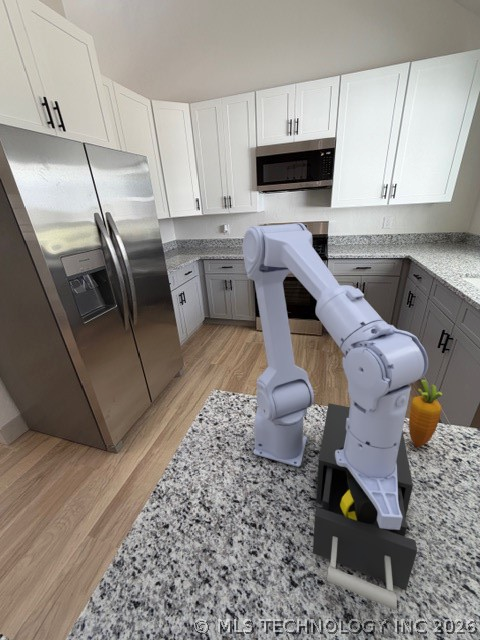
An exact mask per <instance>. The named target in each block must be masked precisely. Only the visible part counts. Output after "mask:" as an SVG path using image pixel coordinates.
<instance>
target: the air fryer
mask: <svg viewBox="0 0 480 640" xmlns="http://www.w3.org/2000/svg"><path fill="white" fill-rule="evenodd" d="M349 410H350V406H345V405H341V404H340V405H339V404H335V403H330V402H328V403H327V410H326V413H325V421H324V426H323V433H322V438H321V444H320V450H319V456H318V465H317V466H318V467H317V468H318V469H317V479H316V493H315V495H316V496H315V497H316V498H315V504H317V505H319V506H322V503H323V495H324V487H325V479H326V472H327V466H329V467H333V468H336V469H340V470H343V471H346V469H345V467H341V466H339V465H338V464H337V462H336V458H335V451H336V450H339V449H340V448H342V447H344V444H345V439H346V433H347V430H346V420H347V418H349ZM396 464H397V483H398V486H401V491H402V498H403V505H404V512H405V518H406V517H407V513H408V509H409V505H410V502H411V501H410V500H411V497H412V492H413V489H414V482H413V478H412V473H411V467H410V462H409V457H408V452H407V445H406V441H405V436H404V431H403V430H402V435H401V440H400V445H399V450H398V455H397V460H396Z"/></svg>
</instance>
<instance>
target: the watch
mask: <svg viewBox="0 0 480 640" xmlns="http://www.w3.org/2000/svg"><path fill="white" fill-rule="evenodd" d="M353 502H354V500H353V498H352V496H351V493H350V490H348V491H347V492H346V493H345V495H344V496H343V498H342V500H341V503H340V507H341V510H342V512H343V514H344V515H345V517H348V518H351V519H354V520H357V518H356V514H355V511H353V512H348V510H349V507H350V506H351V505H352V504H353Z"/></svg>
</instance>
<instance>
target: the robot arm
mask: <svg viewBox="0 0 480 640" xmlns="http://www.w3.org/2000/svg"><path fill="white" fill-rule="evenodd" d="M241 245H242V246H241V248H242V256H243V261H244V267H245V272H246V276H247V279H249V280H252V281H254V287H255V288H254V289H255V293H256V299H257V306H258V311H259V312H258V313H259V319H260V325H261V331H262V336H263V337H262V338H263V344H264V350H265V355H266V362H267V367H266V368H265V369H264V370H263V372H262V373H261V374H260V375H259V376H258V378H257V379H256V404H257V407H258V408H257V410H256V412H255V416H254V422H253V434H254V435H253V436H254V449H253V454H254V455H255V456H259V457H263V458H266V459H269V460H273V461H276V462H279V463H282V464H286V465H288V466H289V465H290V466H293V467H296V468H300V467H301V466H302V462H303V457H304V454H305V450H306V449H305V448H306V445H307V440H308V437H307V436H306V435H304V416H305V415H306V414H308V408H310V407H313V405H314V402H315V393H314V392H315V391H314V389H313V386H312V385H311V382H310V379H309V374H308V371H306V370H305V369H303V368H302V367H300V366H298V365H296V361H295V355H294V348H293V343H292V337H291V336H292V335H291V328H290V324H289V323H290V322H289V317H288V310H287V302H286V297H285V290H284V280H285V279H286V278H287V276H288V275H289V274H292V275H294V277H295V278H296V279H297V280H298V281H299V282H300V284H301V285H302V286H303V287H304V288H305V289H306V290H307V291H308V293H309V294H310V295H311V296H312V297H313V299H315V300H316V305H315V312H314V313H315V316H316V317H317V318H318V319H319V321H320V322H321V324H322V325H323V327H324V328H325V330H326V331H327V332H328V334H329V336H331V338H332V340H333V341H334V342H335V344H336V345H337V346H338V348H339V349H340V351H341V352H342V353H343V355H344V356H342V358H341V359H342V360H341V361H342V368H343V372H344V375H345V377H346V379H347V393H348V396H349V399H350V403H349V407H350V410H349V418H347V420H346V430H347V433H346V439H345V444H344V447H342V448H340V449H339V450H336V451H335V458H336V462H337V464H338V465H339V466H341V467H345V469H346V473H347V482H348V488H349V490H350V493H351V496H352V498H353V500H354V503H355V514H356V518H357V521H360V522H363V523H366V524H374V522H375V521H376V520H377V522H378V525H379V527H380V528H384V529H396V530H400V527H401V522H402V518H403V517H402V514H401V511H400V508H399V504H400V500H401V496H400V494H399V492H398V483H397V464H396V460H397V455H398V450H399V445H400V440H401V435H402V430H403V429H404V425H405V424H404V423H405V419H406V414H407V409H408V405H409V399H410V395H411V390H412V386H411V385H410V384H413V383H415V382H417V381H418V380H420V379H422V378H423V377H424V376H425V375H426V373H427V371H428V368H429V357H428V354H427V351H426V349H425V347H424V346H423V345H422V343H421V342H420V340H419V338H418V336H416V335H415V334H413V333H412V332H409V331H406V330H402V329H397V328H396V327H395V326H394V325H393V324H390V323H389V324H388V322H386V321H385V320H384V319H383V318H382V317H381V316H380V314H378V312H377V311H376V310H375V309H374V307H372V305H371V304H370V303H369V302H368V301H367V300H366V299H365V298H364V297H365V294H364V293H363V292H362V291H361V290H360V289H359V288H357V287H355V286H353V285H348V284H347V285H340V283H339V282H338V280H337V279H336V278H335V276H334V275H333V273H332V272H331V271H330V270H329V267H327V265H326V264H325V262H324V261H323V260H322V258H321V257H320V255H319V254H318V252H317V251H316V249H314V246H313V234H312V232H311V231H309V230H308V228H307V227H306V225H305V224H303V223H302V222H294V223H285V224H271V225H250V226H249V227H248V228H247V229H246V231H245V233H244V236H243V241H242V244H241Z"/></svg>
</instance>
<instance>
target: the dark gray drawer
mask: <svg viewBox="0 0 480 640" xmlns="http://www.w3.org/2000/svg"><path fill="white" fill-rule="evenodd" d="M348 490H349V488H348V482H347V473H346V471H343V470H340V469H336V468H333V467H329V466H327V472H326V479H325V487H324V495H323V503H322V505H321V507H318V506H316V507H315V512H314V525H313V535H312V537H313V538H312V551H311V552H312V554H313V555H316V556H318V557H321V558H323V559H325V560H328V561H330V565H328V566H327V577H326V582H328V583H330V584H332V585H334V586H336V587H339V588H342V589H344V590H346V591H349V592H351V593H354V594H356V595H358V596H360V597H363V598H365V599H368V600H370V601H372V602H374V603H377V604H379V605H382V606H384V607H386V608H388V609H391V610H393V611H397V609H398V598H397V593H396V592H394V587H395V588H398V589H400V590H403V591H405V592H406V591H407V589H408V586H409V582H410V579H411V575H412V572H413V568H414V565H415V561H416V557H417V554H418V547H417V541H416V539H413V538H410V537H407V536H406V532H407V530H408V526H407V520H406V517H405V512H404V505H403V498H402V491H401V486H398V492H399V494H400V496H401V500H400V504H399V508H400V511H401V514H402V517H403V518H402V522H401V527H400V530H396V529H384V528H380V527H379V525H378V522H377V520H376V521H375V522H374V524H366V523H363V522H360V521H357V520H354V519H351V518H348V517H345V515H344V514H343V512H342V510H341V507H340V503H341V500H342V498H343V496H344V495H345V493H346V492H347V491H348ZM353 511H355V503H354V502H353V504H352V505H351V506H350V507H349V510H348V512H353ZM337 564H338V565H341V566H343V567H346V568H347V569H350V570H352V571H355V572H358V573H361V574H363V575H365V576H368V577H370V578H373V579H375V580H378V581H380V582H383V583H385V588H384V587H382V586H379V585H377V584H375V583H372V582H369V581H367V580H364V579H363V578H359V577H357V576H355V575H353V574H349V573H348V572H345V571H342V570H340V569H337V566H336V565H337Z"/></svg>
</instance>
